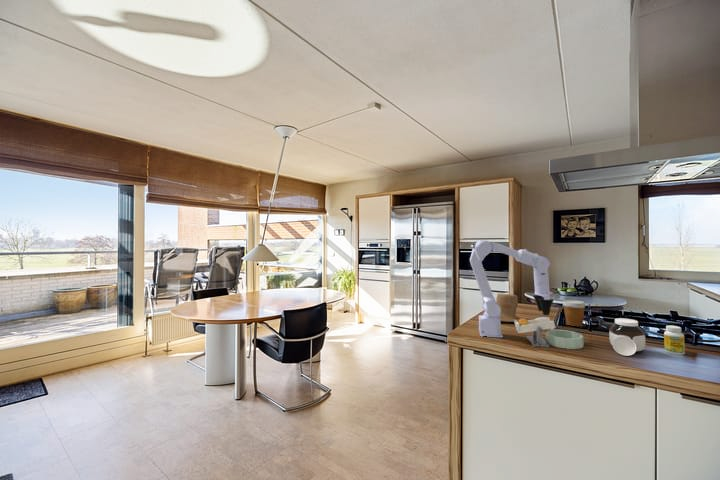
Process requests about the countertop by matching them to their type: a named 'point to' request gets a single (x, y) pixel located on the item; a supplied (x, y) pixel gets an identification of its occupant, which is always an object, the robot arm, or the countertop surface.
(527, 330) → the tipping trough
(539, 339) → the launcher stand
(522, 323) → the ball
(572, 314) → the disposable coffee cup
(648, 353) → the countertop surface
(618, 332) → the spread jar
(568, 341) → the green round bowl
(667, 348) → the supplement bottle
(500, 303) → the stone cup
